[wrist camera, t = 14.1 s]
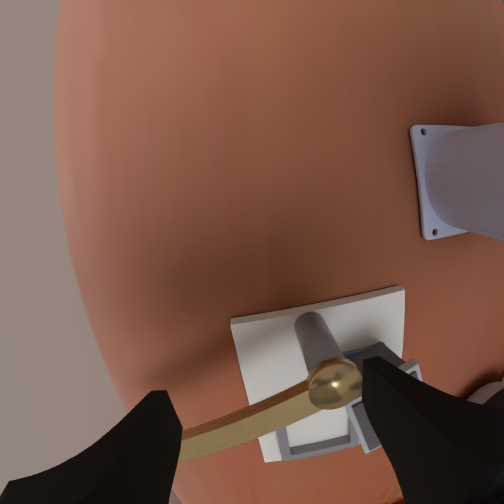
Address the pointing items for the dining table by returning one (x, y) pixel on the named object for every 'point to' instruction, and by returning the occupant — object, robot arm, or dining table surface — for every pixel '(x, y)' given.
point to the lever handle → (277, 409)
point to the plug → (356, 406)
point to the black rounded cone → (489, 395)
